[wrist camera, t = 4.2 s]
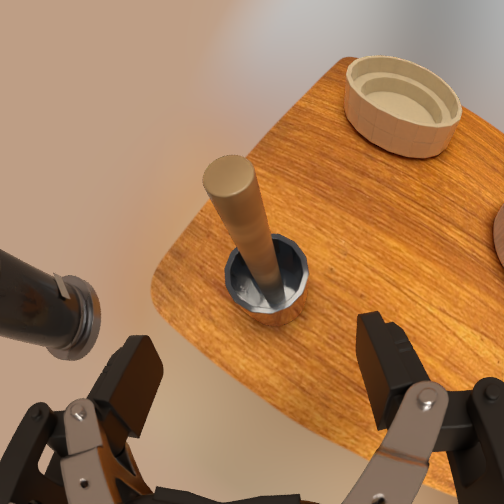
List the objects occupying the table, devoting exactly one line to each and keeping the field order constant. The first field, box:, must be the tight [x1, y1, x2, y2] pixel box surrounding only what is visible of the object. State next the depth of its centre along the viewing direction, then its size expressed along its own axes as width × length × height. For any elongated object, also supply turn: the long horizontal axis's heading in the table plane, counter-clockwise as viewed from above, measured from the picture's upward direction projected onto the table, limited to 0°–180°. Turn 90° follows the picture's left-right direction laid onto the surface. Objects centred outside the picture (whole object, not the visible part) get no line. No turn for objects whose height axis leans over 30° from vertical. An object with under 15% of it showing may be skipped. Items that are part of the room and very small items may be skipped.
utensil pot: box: [224, 234, 309, 326], centre depth 22 cm, size 6×6×7 cm
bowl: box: [344, 55, 462, 158], centre depth 28 cm, size 15×15×6 cm
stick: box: [203, 155, 285, 304], centre depth 17 cm, size 2×2×17 cm
